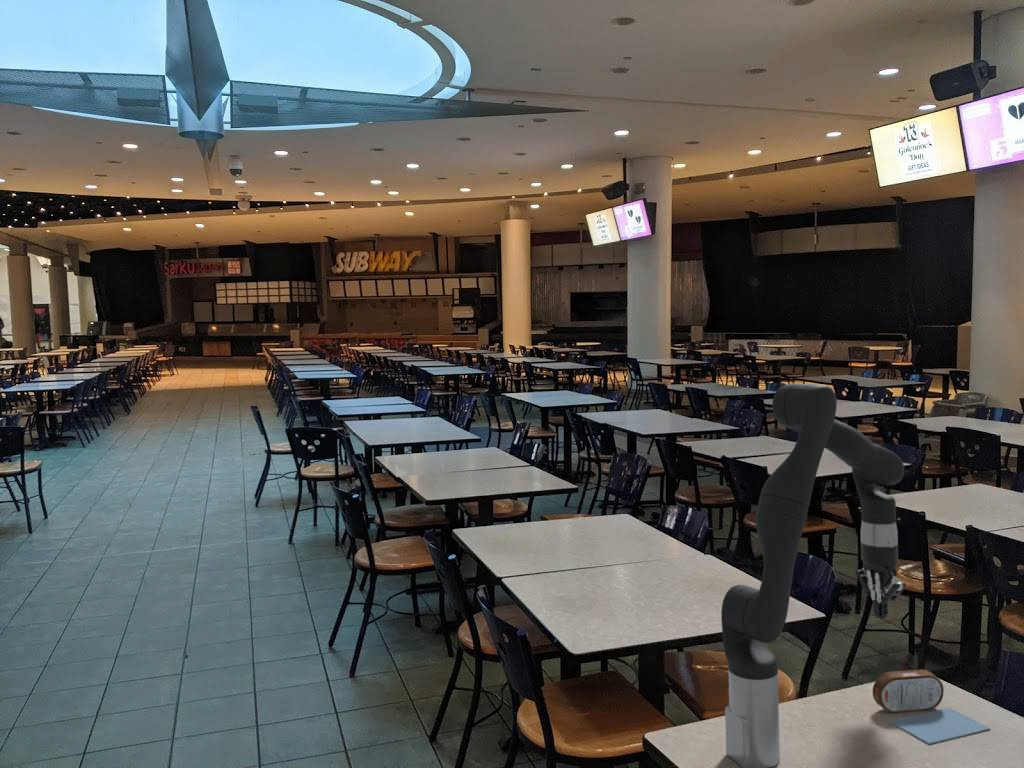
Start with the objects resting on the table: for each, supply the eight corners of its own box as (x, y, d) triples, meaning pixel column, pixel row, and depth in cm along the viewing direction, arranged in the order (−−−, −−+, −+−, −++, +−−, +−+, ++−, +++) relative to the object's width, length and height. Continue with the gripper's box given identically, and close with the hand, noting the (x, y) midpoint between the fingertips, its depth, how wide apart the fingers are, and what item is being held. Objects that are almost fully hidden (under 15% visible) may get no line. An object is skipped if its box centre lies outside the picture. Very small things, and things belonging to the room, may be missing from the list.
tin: (937, 704, 174) (937, 666, 174) (946, 710, 171) (946, 672, 170) (871, 709, 173) (871, 671, 172) (879, 716, 170) (879, 677, 169)
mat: (929, 744, 157) (929, 743, 157) (890, 722, 166) (890, 721, 166) (990, 729, 162) (990, 728, 162) (949, 709, 171) (949, 707, 171)
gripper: (844, 536, 182) (846, 610, 183) (888, 549, 170) (890, 629, 171) (870, 532, 185) (872, 606, 186) (915, 545, 172) (917, 624, 173)
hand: (880, 617), depth 178 cm, fingers closed
